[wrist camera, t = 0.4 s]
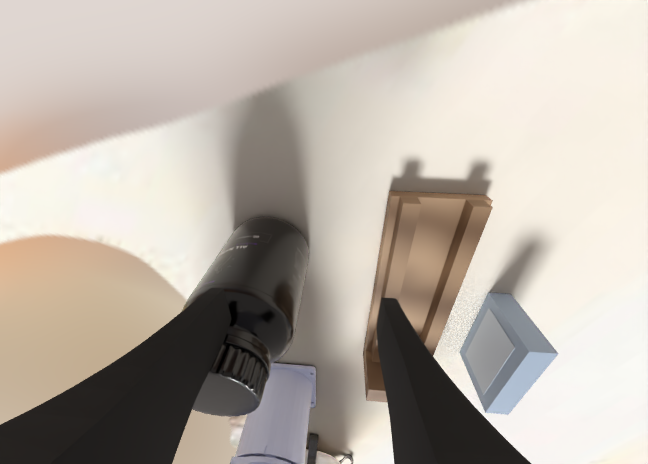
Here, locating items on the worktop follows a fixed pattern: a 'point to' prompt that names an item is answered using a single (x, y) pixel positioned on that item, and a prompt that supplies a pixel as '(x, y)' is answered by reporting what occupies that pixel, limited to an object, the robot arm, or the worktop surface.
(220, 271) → the supplement bottle
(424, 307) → the door track
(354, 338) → the worktop surface
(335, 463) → the coffee press
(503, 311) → the light blue flat block
